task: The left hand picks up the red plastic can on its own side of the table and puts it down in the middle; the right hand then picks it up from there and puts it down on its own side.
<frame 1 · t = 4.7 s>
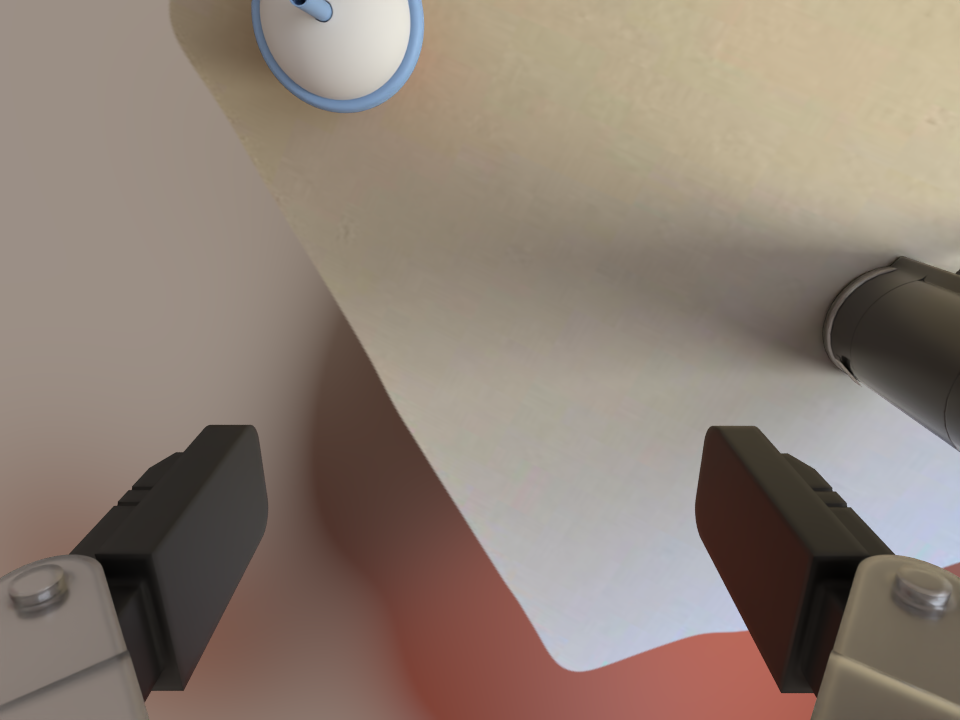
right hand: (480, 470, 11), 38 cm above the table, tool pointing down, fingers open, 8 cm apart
cup with straw: (369, 41, 43), on the table
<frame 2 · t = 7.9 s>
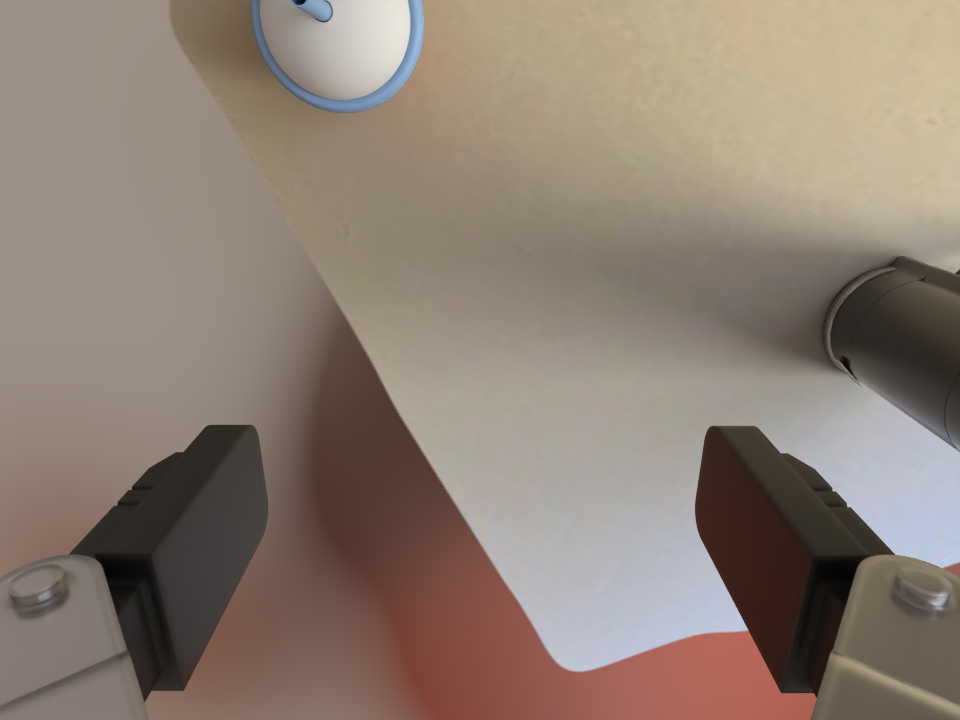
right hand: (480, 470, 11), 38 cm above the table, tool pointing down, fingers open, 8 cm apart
cup with straw: (369, 41, 43), on the table
when the left hand's fingers open (2 cm above the table, at t = 10.9 s): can stays where it is, on the table.
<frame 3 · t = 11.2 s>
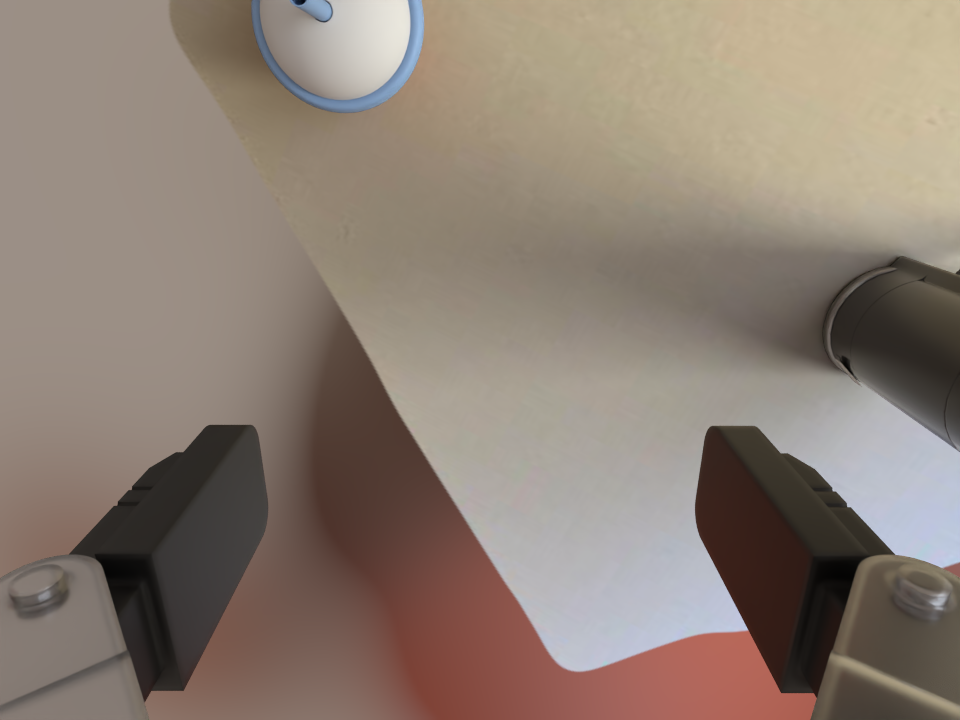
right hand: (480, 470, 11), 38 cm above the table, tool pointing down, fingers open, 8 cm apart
cup with straw: (369, 41, 43), on the table
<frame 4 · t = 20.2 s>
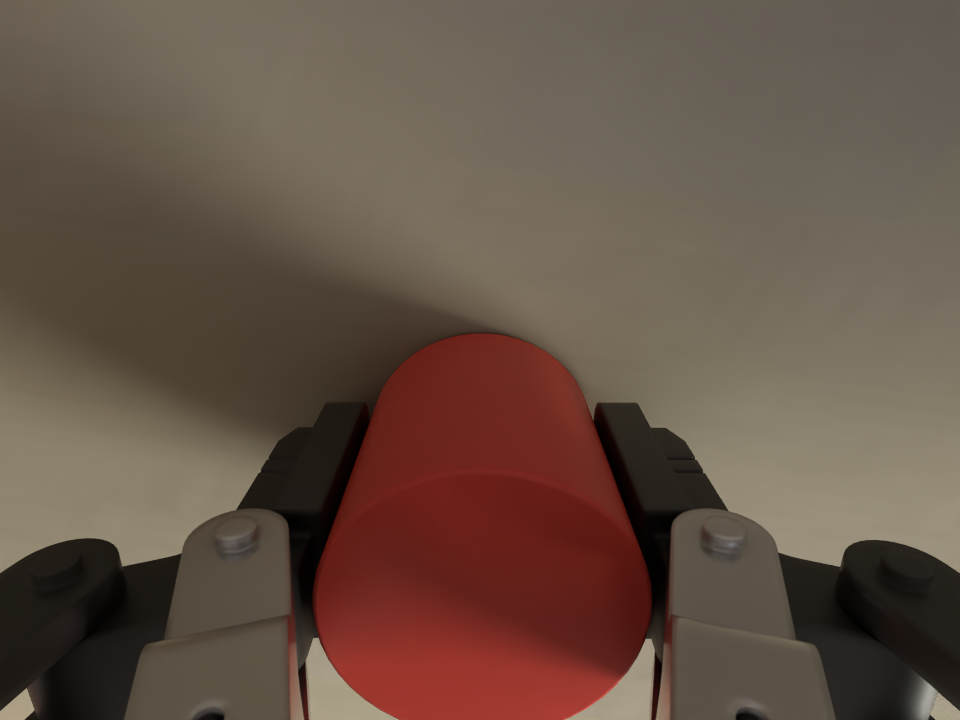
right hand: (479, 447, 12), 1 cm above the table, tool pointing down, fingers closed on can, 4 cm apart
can: (481, 435, 13), on the table, touching right hand
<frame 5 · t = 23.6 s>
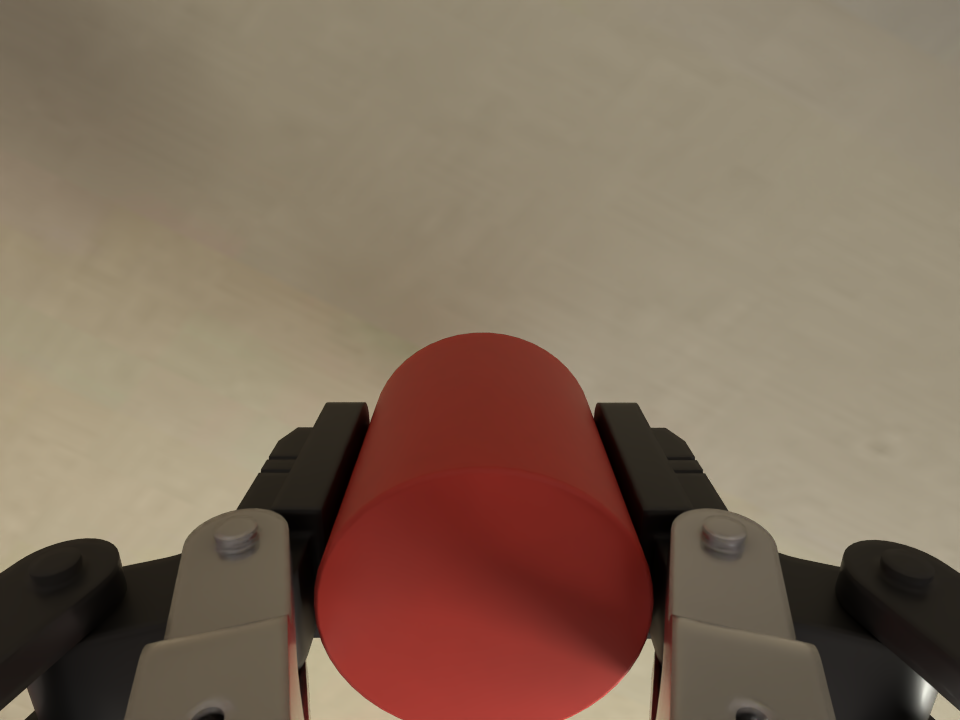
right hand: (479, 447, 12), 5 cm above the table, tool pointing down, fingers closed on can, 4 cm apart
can: (482, 434, 13), point 5 cm above the table, touching right hand
when the right hand's fingers open (1 cm above the table, at t = 26.9 s): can stays where it is, on the table.
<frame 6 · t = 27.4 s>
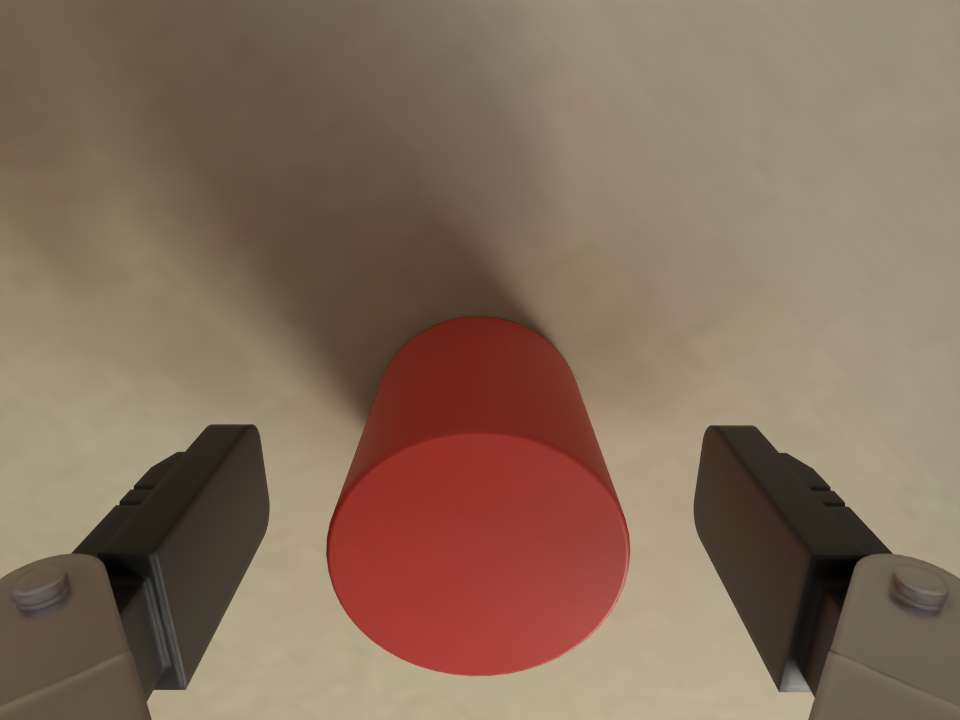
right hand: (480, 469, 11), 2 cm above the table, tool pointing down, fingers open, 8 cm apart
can: (478, 412, 13), on the table
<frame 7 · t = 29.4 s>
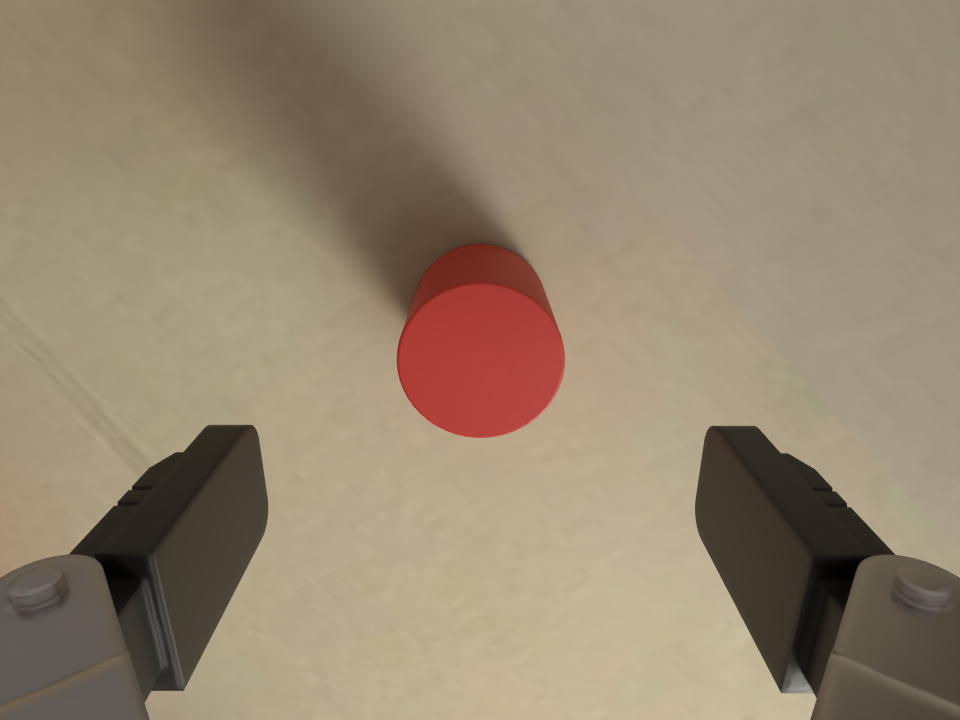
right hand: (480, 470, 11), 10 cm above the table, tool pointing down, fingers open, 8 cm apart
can: (480, 309, 21), on the table
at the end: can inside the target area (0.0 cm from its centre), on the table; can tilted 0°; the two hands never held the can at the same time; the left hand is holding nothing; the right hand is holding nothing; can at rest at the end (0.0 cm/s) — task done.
